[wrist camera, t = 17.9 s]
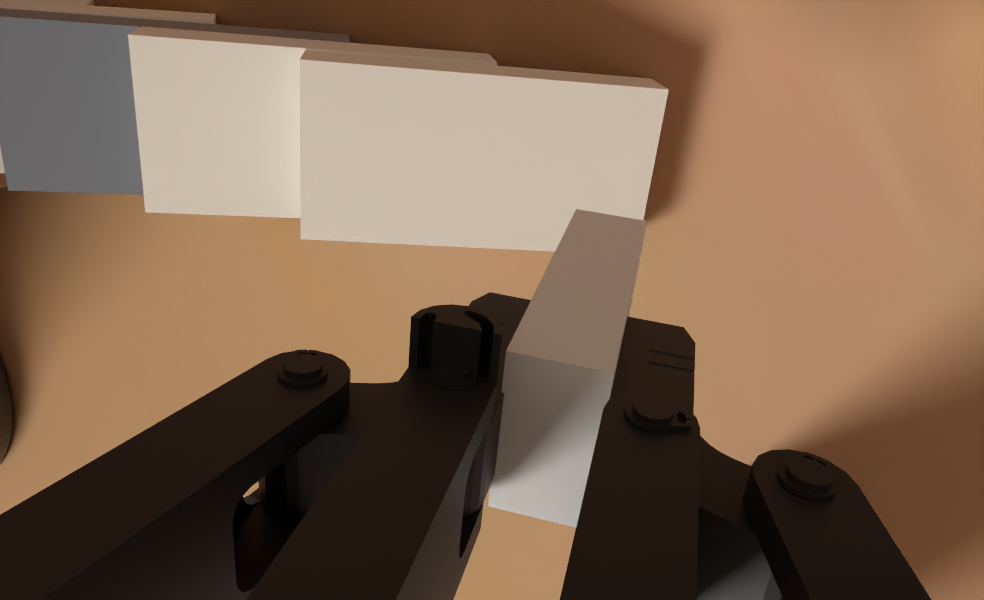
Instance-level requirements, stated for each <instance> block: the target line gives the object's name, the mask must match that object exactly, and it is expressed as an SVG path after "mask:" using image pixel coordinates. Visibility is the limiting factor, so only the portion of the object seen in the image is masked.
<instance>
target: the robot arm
mask: <svg viewBox="0 0 984 600" xmlns="http://www.w3.org/2000/svg"><path fill="white" fill-rule="evenodd" d="M646 224H647V221H645V220H639V219H633V218H627V217H621V216H615V215H609V214H603V213H597V212H591V211H585V210H579V209H576V210H575V212H574V214H573V216H572V218H571V220H570V223H569V225H568V227H567V229H566V231H565V233H564V235H563V237H562V239H561V241H560V243H559V245H558V247H557V249H556V251H555V253H554V255H553V257H552V259H551V261H550V263H549V265H548V267H547V269H546V271H545V273H544V275H543V277H542V279H541V281H540V283H539V285H538V287H537V289H536V291H535V293H534V295H533V298H532V300H527V299H522V298H516V297H511V296H506V295H501V294H496V293H488V294H486V295H484V296H482V297H480V298H478V299H476V300H474V301H472V302H471V303H470V305H469V306H461V305H438V306H432V307H429V308H425V309H422V310H420V311H418V312H417V313H416V314H414V315H413V316H412V317H411V331H410V350H409V367H408V369H407V370H406V371H405V373H404V374H403V376H402V377H401V379H400V380H399V381H398V382H393V383H350V369H349V367H348V366H347V364H346V363H345V361H343V360H341V359H340V358H338V357H336V356H334V355H332V354H328V353H324V352H320V351H316V350H309V351H307V350H296V351H292V352H286V353H281V354H278V355H276V356H273V357H271V358H268V359H266V360H265V361H263V362H261V363H259V364H258V365H256V366H254V367H253V368H251V369H249V370H247V371H246V372H244V373H242V374H241V375H239V376H237V377H235V378H234V379H232V380H230V381H229V382H227V383H225V384H223V385H222V386H220V387H218V388H217V389H215V390H213V391H211V392H210V393H208V394H206V395H205V396H203V397H201V398H199V399H198V400H196V401H194V402H193V403H191V404H189V405H187V406H186V407H184V408H182V409H181V410H179V411H177V412H175V413H174V414H172V415H170V416H169V417H167V418H165V419H163V420H162V421H160V422H158V423H157V424H155V425H153V426H151V427H150V428H148V429H146V430H145V431H143V432H141V433H139V434H138V435H136V436H134V437H133V438H131V439H129V440H127V441H126V442H124V443H122V444H121V445H119V446H117V447H115V448H114V449H112V450H110V451H109V452H107V453H105V454H103V455H102V456H100V457H98V458H97V459H95V460H93V461H92V462H90V463H88V464H86V465H85V466H83V467H81V468H80V469H78V470H76V471H74V472H73V473H71V474H69V475H68V476H66V477H64V478H62V479H61V480H59V481H57V482H56V483H54V484H52V485H50V486H49V487H47V488H45V489H44V490H42V491H40V492H38V493H37V494H35V495H33V496H32V497H30V498H28V499H26V500H25V501H23V502H21V503H20V504H18V505H16V506H14V507H13V508H11V509H9V510H8V511H6V512H4V513H2V514H1V515H0V600H453V599H454V596H455V594H456V591H457V589H458V586H459V583H460V581H461V578H462V575H463V573H464V570H465V568H466V565H467V562H468V560H469V557H470V555H471V552H472V549H473V547H474V544H475V541H476V539H477V536H478V534H479V531H480V527H481V519H482V510H483V502H484V499H485V497H486V494H487V492H488V489H489V487H490V494H489V503H488V506H489V507H493V508H497V509H502V510H506V511H510V512H514V513H518V514H522V515H526V516H530V517H535V518H539V519H543V520H547V521H551V522H555V523H559V524H563V525H567V526H572V527H576V531H575V536H574V540H573V544H572V549H571V553H570V558H569V562H568V566H567V571H566V575H565V580H564V584H563V588H562V593H561V597H560V600H931V599H930V597H929V595H928V594H927V592H926V591H925V589H924V588H923V586H922V584H921V583H920V581H919V580H918V578H917V577H916V575H915V574H914V572H913V570H912V569H911V567H910V566H909V564H908V563H907V561H906V559H905V558H904V556H903V555H902V553H901V552H900V550H899V548H898V547H897V545H896V544H895V542H894V541H893V539H892V538H891V536H890V534H889V533H888V531H887V530H886V528H885V527H884V525H883V523H882V522H881V520H880V519H879V517H878V516H877V514H876V513H875V511H874V509H873V508H872V506H871V505H870V503H869V502H868V500H867V498H866V497H865V495H864V494H863V492H862V491H861V489H860V488H859V486H858V485H857V484H856V483H855V482H854V480H853V479H852V478H851V477H850V476H849V475H848V474H847V473H846V472H845V471H843V470H841V469H840V468H838V467H837V466H835V465H834V464H832V463H831V462H829V461H827V460H825V459H823V458H821V457H819V456H818V457H817V456H816V455H813V454H810V453H806V452H799V451H794V450H771V451H768V452H766V453H763V454H761V455H759V456H758V457H757V458H756V460H755V462H754V463H753V465H752V466H749V465H747V464H744V463H742V462H740V461H737V460H735V459H733V458H731V457H729V456H727V455H725V454H723V453H721V452H719V451H718V450H716V449H715V448H713V447H712V446H711V445H709V444H708V443H707V442H706V441H705V440H704V439H703V438H702V437H701V436H700V427H699V424H698V421H697V418H696V417H695V416H694V415H693V406H694V370H695V361H694V360H695V342H694V341H693V339H692V338H691V337H690V335H689V334H688V333H687V331H686V330H685V328H684V327H679V326H674V325H669V324H663V323H658V322H653V321H648V320H643V319H637V318H632V317H629V313H630V308H631V303H632V297H633V292H634V287H635V282H636V276H637V271H638V266H639V261H640V255H641V250H642V245H643V239H644V234H645V229H646ZM11 431H12V405H11V398H10V392H9V387H8V383H7V379H6V376H5V373H4V370H3V367H2V364H1V361H0V463H1V461H2V459H3V457H4V456H5V453H6V451H7V448H8V445H9V442H10V437H11ZM257 481H259V488H258V489H257V490H255V491H254V492H253V493H252V494H250V495H249V496H247V497H244V498H243V495H244V494H245V493H246V492H247V491H248V489H249V488H250V487H251V486H252V485H254V484H255V483H256V482H257ZM490 484H491V486H490Z"/></svg>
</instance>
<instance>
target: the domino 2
mask: <svg viewBox="0 0 984 600" xmlns="http://www.w3.org/2000/svg"><path fill="white" fill-rule="evenodd" d="M128 41H129V51H130V61H131V71H132V81H133V92H134V102H135V112H136V122H137V132H138V142H139V153H140V163H141V173H142V183H143V193H144V203H145V212H152V213H179V214H205V215H231V216H257V217H284V218H301V193H300V58H301V56H302V55H303V53H304V51H305V50H316V51H328V52H340V53H352V54H364V55H376V56H388V57H400V58H412V59H424V60H436V61H448V62H460V63H472V64H484V65H496V66H497V62H496V61H495V60H494V59H493V58H492V57H491V55H490V54H486V53H474V52H461V51H448V50H436V49H423V48H410V47H398V46H385V45H372V44H360V43H347V42H334V41H322V40H309V39H296V38H283V37H271V36H258V35H245V34H233V33H220V32H207V31H195V30H182V29H169V28H157V27H144V26H142V27H140V28H139V29H137V30H135V31H133V32H132V33H130V34H128Z"/></svg>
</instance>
